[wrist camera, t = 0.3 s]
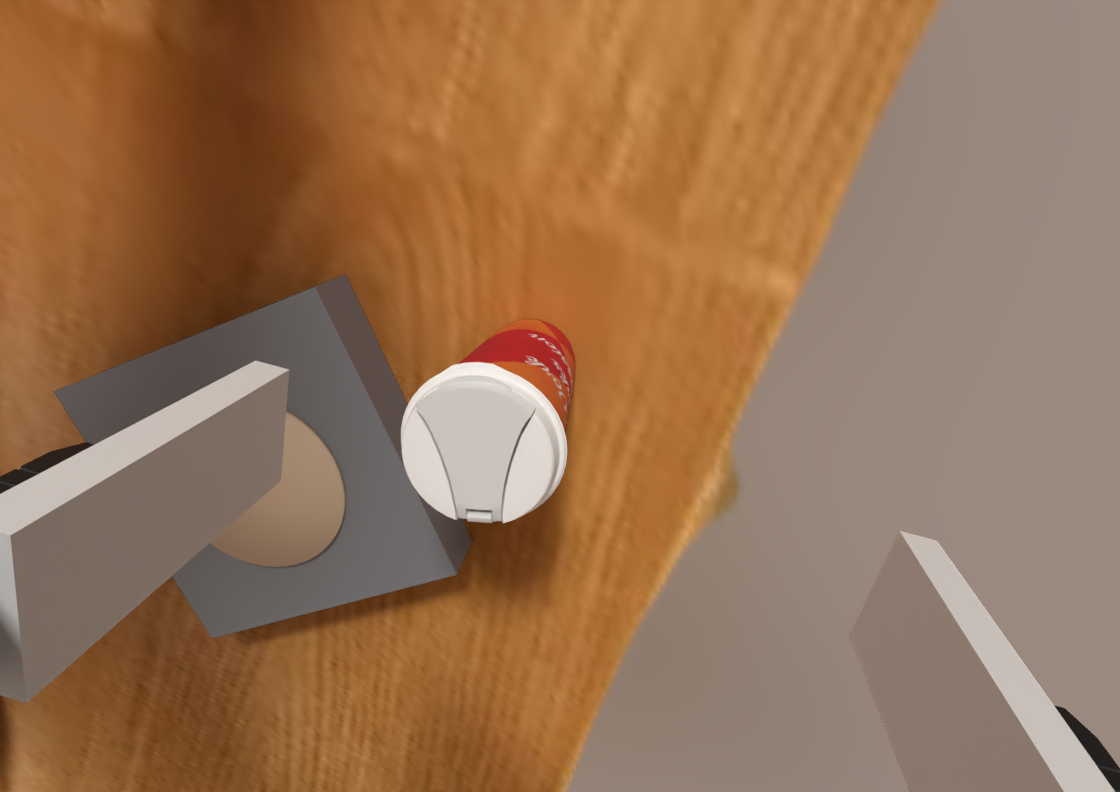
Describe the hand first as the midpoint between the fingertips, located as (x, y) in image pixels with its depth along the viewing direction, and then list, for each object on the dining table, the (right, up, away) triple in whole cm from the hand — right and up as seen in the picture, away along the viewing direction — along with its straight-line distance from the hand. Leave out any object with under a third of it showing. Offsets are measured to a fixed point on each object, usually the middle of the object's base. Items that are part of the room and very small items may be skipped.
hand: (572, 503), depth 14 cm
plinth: (-19, -2, +33) cm, 38 cm away
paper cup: (-2, +5, +28) cm, 29 cm away
